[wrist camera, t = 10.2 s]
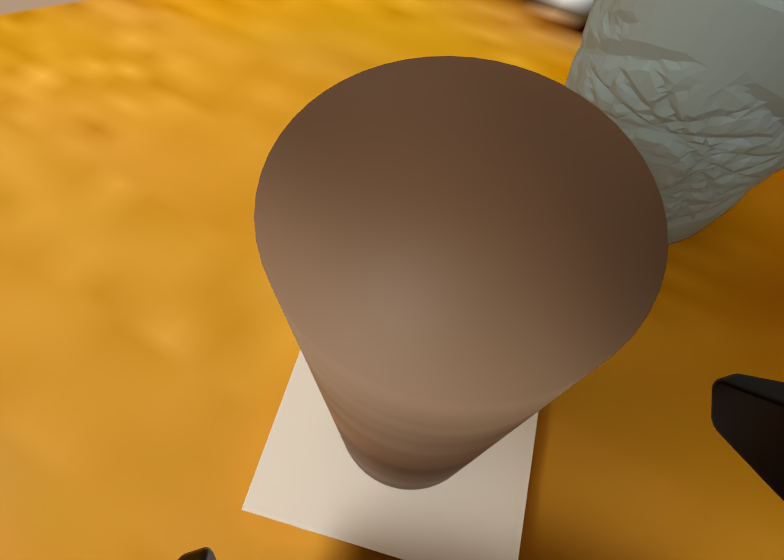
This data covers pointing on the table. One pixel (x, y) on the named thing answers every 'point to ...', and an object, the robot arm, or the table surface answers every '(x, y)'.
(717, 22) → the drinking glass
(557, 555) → the table surface
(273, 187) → the walnut roller
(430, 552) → the pad
